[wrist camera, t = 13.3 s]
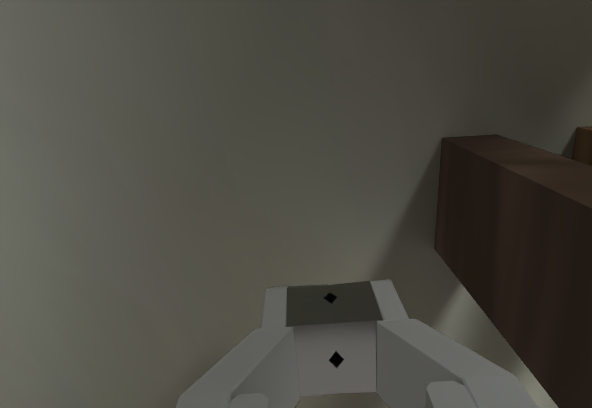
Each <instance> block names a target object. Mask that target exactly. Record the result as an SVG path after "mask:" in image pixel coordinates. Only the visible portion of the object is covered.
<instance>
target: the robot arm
mask: <svg viewBox="0 0 592 408" xmlns="http://www.w3.org/2000/svg"><path fill="white" fill-rule="evenodd" d="M363 392H377V394H378V395H379V396H380V398H381V399H382V400H383V401H384V402H385V403H386V404H387V405H388V406H389V407H390V408H538V406H537V405H536V404H535V402H534V401H533V399H532V398H531V397H530V395H529V394H528V392H527V391H526V390H525V388H524V387H523V385H522V384H521V383H520V381H519V380H518V379H517V377H516V376H515V375H514V374H512V373H510V372H508V371H507V370H505V369H503V368H501V367H500V366H498V365H496V364H494V363H493V362H491V361H489V360H487V359H486V358H484V357H482V356H480V355H479V354H477V353H475V352H473V351H472V350H470V349H468V348H466V347H465V346H463V345H461V344H459V343H458V342H456V341H454V340H452V339H451V338H449V337H447V336H445V335H444V334H442V333H440V332H438V331H437V330H435V329H433V328H431V327H430V326H428V325H426V324H424V323H423V322H421V321H419V320H417V319H416V318H415V319H409V317H408V315H407V313H406V311H405V308H404V306H403V304H402V302H401V300H400V298H399V296H398V294H397V291H396V289H395V287H394V285H393V283H392V281H391V280H390V279H384V280H375V281H365V282H354V283H344V284H333V285H328V284H327V285H306V286H288V287H286V286H282V287H271V288H267V289H266V290H265V296H264V304H263V312H262V320H261V328H260V329H254V330H253V331H252V332H251V333H250V334H248V335H247V336H246V337H245V338H244V339H243V340H242V341H241V342H240V343H238V344H237V345H236V346H235V347H234V348H233V349H232V350H231V351H229V352H228V353H227V354H226V355H225V356H224V357H223V358H222V359H220V360H219V361H218V362H217V363H216V364H215V365H214V366H213V367H212V368H210V369H209V370H208V371H207V372H206V373H205V374H204V375H203V376H201V377H200V378H199V379H198V380H197V381H196V382H195V383H194V384H192V385H191V386H190V387H189V388H188V389H187V390H186V391H185V392H184V393H182V394H181V395H180V396H179V399H178V402H177V405H176V408H295V406H296V405H297V403H298V401H299V400H300V397H304V396H315V395H325V394H336V393H363Z"/></svg>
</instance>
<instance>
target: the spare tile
mask: <svg viewBox="0 0 592 408" xmlns="http://www.w3.org/2000/svg"><path fill="white" fill-rule="evenodd" d="M435 250H436V251H437V253H438V254H439V255H440V256H441V258H442V259H443V260H444V261H445V263H446V264H447V265H448V267H449V268H450V269H451V270H452V272H453V273H454V274H455V276H456V277H457V278H458V279H459V281H460V282H461V283H462V285H463V286H464V287H465V288H466V290H467V291H468V292H469V293H470V295H471V296H472V297H473V299H474V300H475V301H476V302H477V304H478V305H479V306H480V308H481V309H482V310H483V311H484V313H485V314H486V315H487V316H488V318H489V319H490V320H491V322H492V323H493V324H494V325H495V327H496V328H497V329H498V331H499V332H500V333H501V334H502V336H503V337H504V338H505V339H506V341H507V342H508V343H509V345H510V346H511V347H512V348H513V350H514V351H515V352H516V354H517V355H518V356H519V357H520V359H521V360H522V361H523V363H524V364H525V365H526V366H527V368H528V369H529V370H530V371H531V373H532V374H533V375H534V377H535V378H536V379H537V380H538V382H539V383H540V384H541V386H542V387H543V388H544V389H545V391H546V392H547V393H548V394H549V396H550V397H551V398H552V400H553V401H554V402H555V403H556V405H557V406H558V407H559V408H592V166H590V165H587V164H584V163H581V162H578V161H575V160H572V159H569V158H566V157H563V156H560V155H557V154H554V153H551V152H548V151H545V150H542V149H539V148H536V147H533V146H530V145H526V144H523V143H520V142H517V141H514V140H511V139H508V138H505V137H502V136H499V135H481V136H464V137H448V138H442V146H441V161H440V176H439V191H438V205H437V220H436V235H435Z"/></svg>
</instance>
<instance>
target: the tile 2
mask: <svg viewBox="0 0 592 408" xmlns="http://www.w3.org/2000/svg"><path fill="white" fill-rule="evenodd" d="M572 160H575V161H578V162H581V163H584V164H587V165H590V166H592V126H590V127H577V133H576V139H575V145H574V151H573V157H572Z"/></svg>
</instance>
